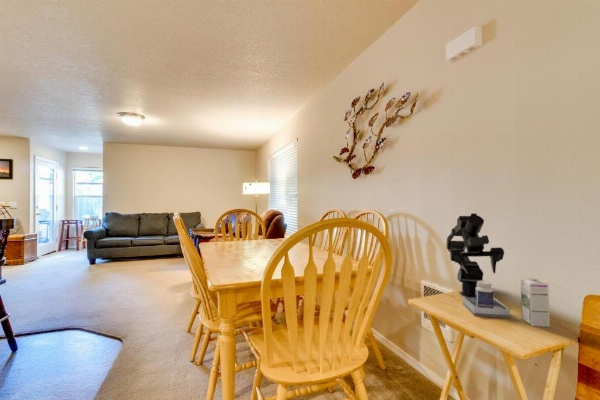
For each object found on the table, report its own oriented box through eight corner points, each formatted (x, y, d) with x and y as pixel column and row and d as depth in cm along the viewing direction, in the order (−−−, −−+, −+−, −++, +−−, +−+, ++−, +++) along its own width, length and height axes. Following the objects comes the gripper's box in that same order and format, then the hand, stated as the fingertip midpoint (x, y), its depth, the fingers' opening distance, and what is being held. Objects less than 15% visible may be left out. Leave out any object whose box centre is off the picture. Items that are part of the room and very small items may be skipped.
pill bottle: (497, 310, 106) (497, 283, 106) (483, 311, 105) (483, 284, 105) (485, 304, 112) (484, 279, 112) (472, 305, 111) (471, 280, 111)
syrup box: (550, 327, 94) (549, 283, 94) (530, 326, 95) (529, 282, 95) (539, 320, 99) (539, 278, 99) (520, 319, 100) (520, 278, 101)
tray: (462, 304, 115) (462, 295, 115) (493, 306, 113) (493, 297, 113) (474, 315, 104) (474, 306, 104) (509, 318, 101) (509, 308, 101)
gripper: (448, 230, 120) (455, 263, 110) (500, 227, 113) (512, 261, 103) (447, 244, 127) (454, 276, 117) (496, 243, 121) (507, 276, 110)
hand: (480, 273), depth 112 cm, fingers open, 9 cm apart
